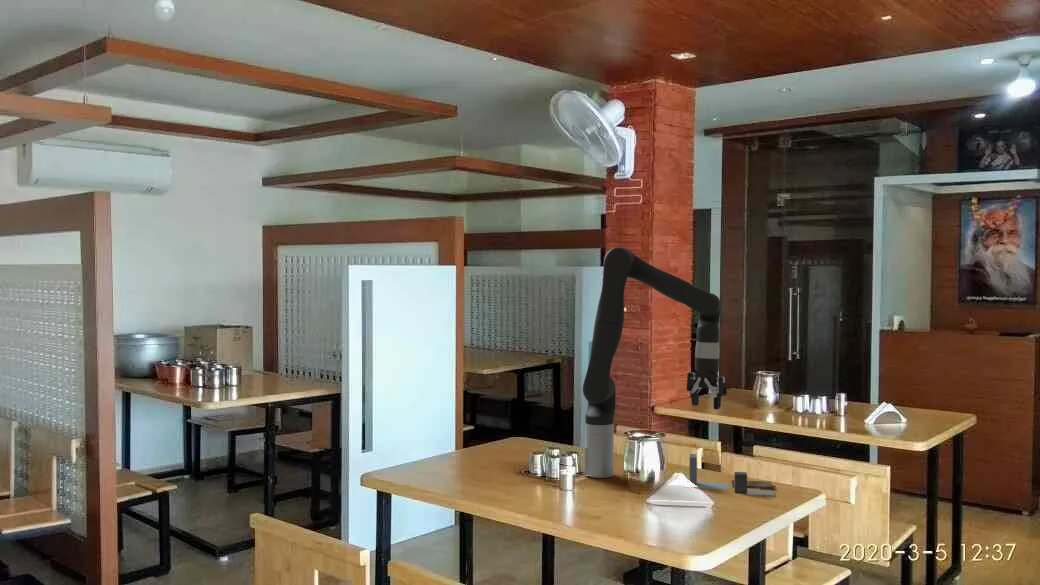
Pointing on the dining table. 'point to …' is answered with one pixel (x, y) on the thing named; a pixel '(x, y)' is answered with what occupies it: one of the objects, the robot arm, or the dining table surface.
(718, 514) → the dining table surface
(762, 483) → the rest board
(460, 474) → the dining table surface
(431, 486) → the dining table surface
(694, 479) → the tile
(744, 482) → the turner
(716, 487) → the mat
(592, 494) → the dining table surface
